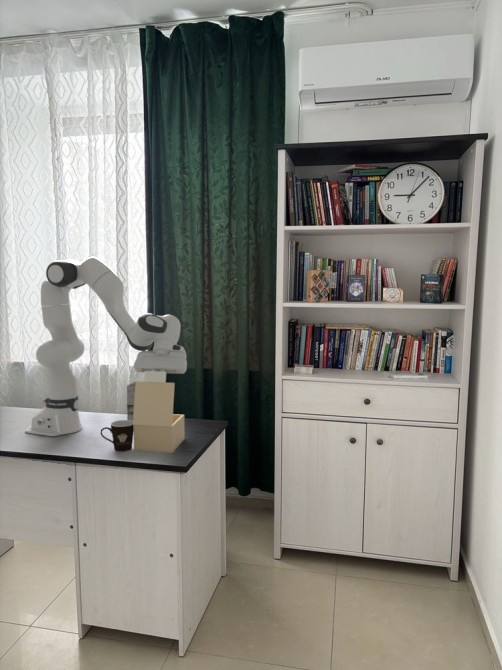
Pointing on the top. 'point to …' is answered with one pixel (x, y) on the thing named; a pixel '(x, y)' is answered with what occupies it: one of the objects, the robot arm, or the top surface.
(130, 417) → the coffee box
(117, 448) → the coffee mug
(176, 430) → the carton
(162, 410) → the flap
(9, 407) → the top surface
